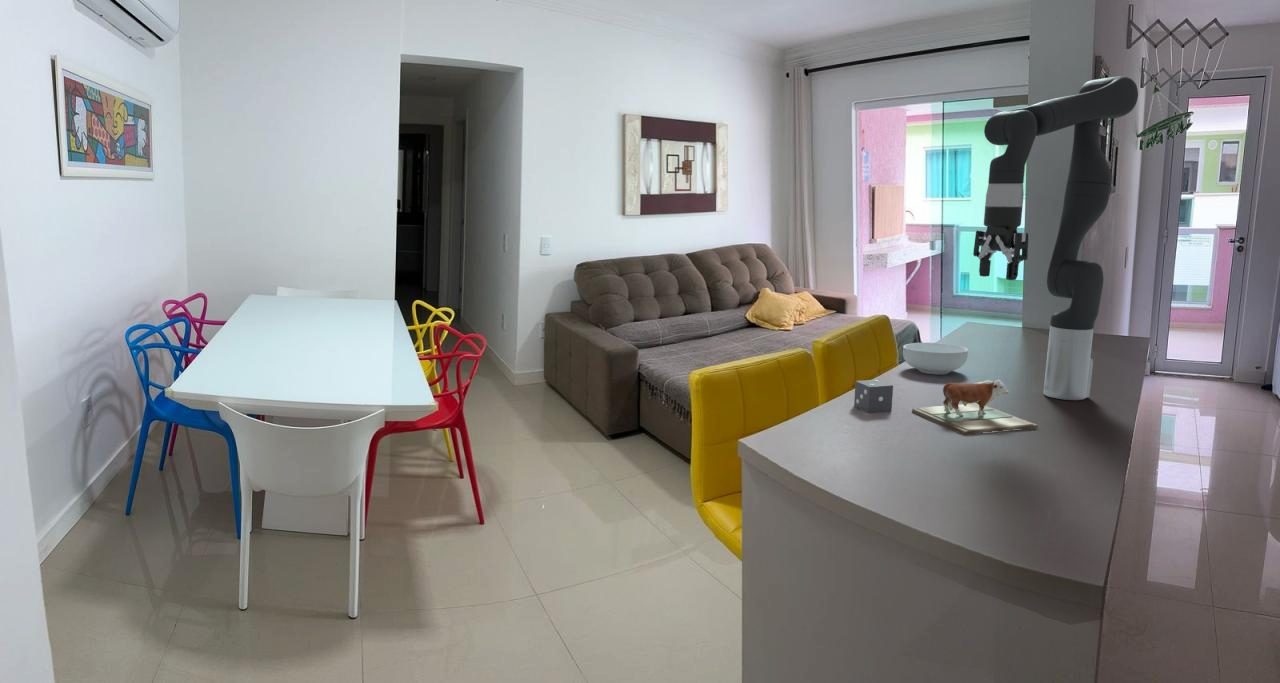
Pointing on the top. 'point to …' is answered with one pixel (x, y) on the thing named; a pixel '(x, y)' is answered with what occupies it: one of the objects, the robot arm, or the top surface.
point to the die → (873, 396)
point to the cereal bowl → (935, 357)
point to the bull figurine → (972, 394)
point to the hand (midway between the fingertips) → (997, 278)
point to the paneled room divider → (973, 419)
